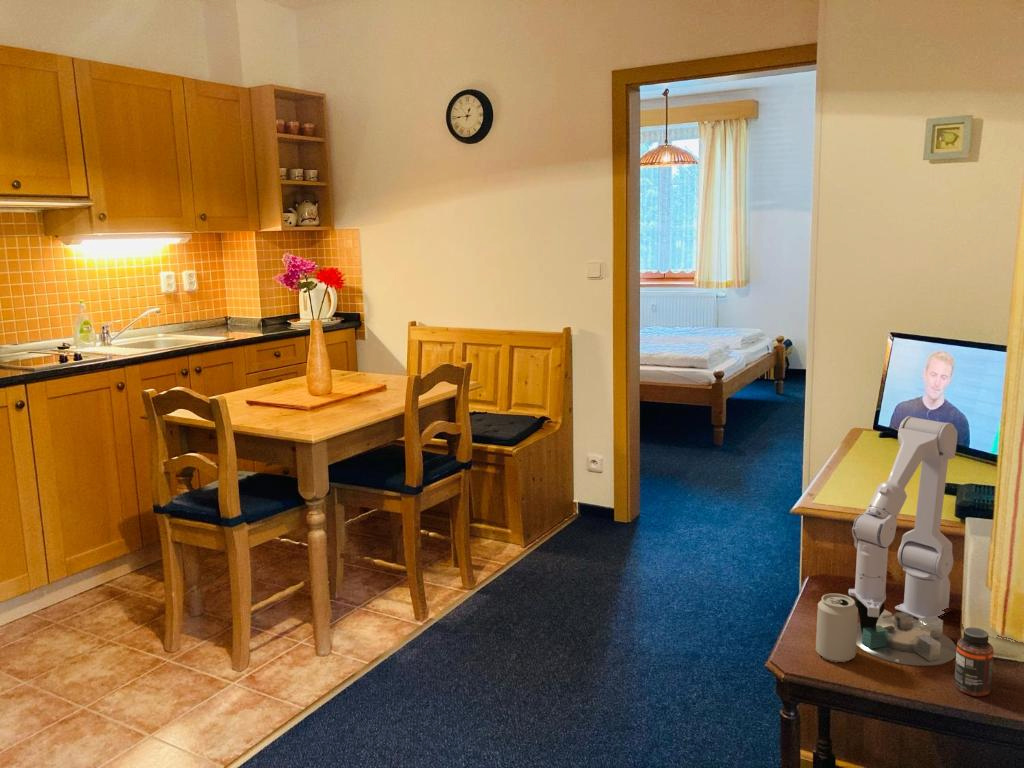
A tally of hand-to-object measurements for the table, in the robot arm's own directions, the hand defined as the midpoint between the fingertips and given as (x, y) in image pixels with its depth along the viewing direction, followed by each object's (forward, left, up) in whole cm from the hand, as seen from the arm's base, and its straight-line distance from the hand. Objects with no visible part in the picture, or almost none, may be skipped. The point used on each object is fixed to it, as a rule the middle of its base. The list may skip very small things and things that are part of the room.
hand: (867, 634), depth 174 cm
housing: (-6, +4, -2) cm, 7 cm away
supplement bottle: (0, +22, -2) cm, 22 cm away
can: (+10, 0, -2) cm, 10 cm away
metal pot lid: (-6, +4, -2) cm, 7 cm away
